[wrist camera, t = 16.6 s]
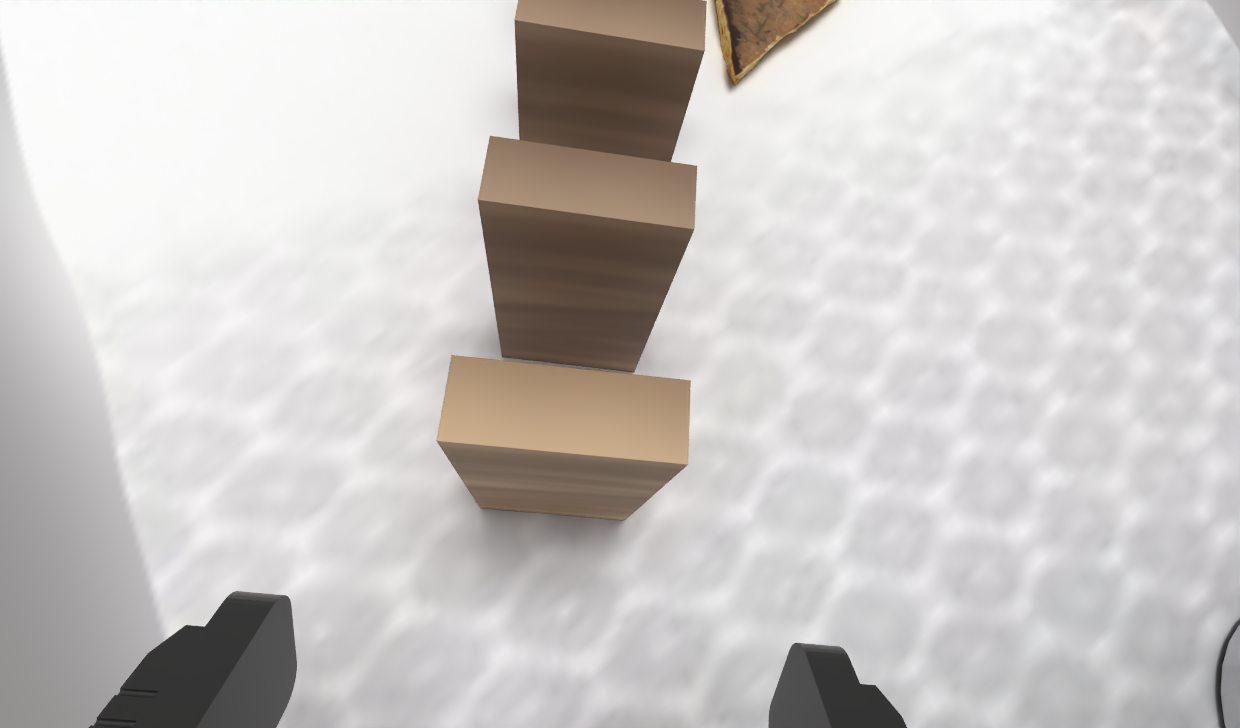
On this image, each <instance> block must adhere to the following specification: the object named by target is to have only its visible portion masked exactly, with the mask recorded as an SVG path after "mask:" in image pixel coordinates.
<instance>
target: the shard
mask: <svg viewBox="0 0 1240 728" xmlns="http://www.w3.org/2000/svg"><path fill="white" fill-rule="evenodd" d="M834 1H836V0H716V9H717V13H718V20H719V32H720V35H721V37H720V41H721V48H722V52H723V56H724V59H725V61H726V64H727V68H728V73H729V75H730V77H731V79H732V81H733V82H734V84H735V85H736V84H737V83H738V82H739V81H740V80H741V79H742V78H743V77H744V76H745V75H746V74H747V73H748V72H750V71H751V70H752V69H753V68H754V67H755V66H756V65H757V64H758V62H759V61H760V60H761V59H762V57H763V56H764V55H766V53H767V52H768V51H769V50H770V49H771V48H772V47H773V46H774V45H776V44H777V43H778V42H780V41H781V40H782V39H783V38H784V37H785V36H787V35H788V34H790V33H794V32H796V31H797V30H798V29H799V28H800V27H801V26H803V25H804V24H805V23H806V22H807V21H808V20H809V19H810V18H811V17H813V16H814V15H816V14H817V13H819V12H820V11H821V10H823V9H824V8H825V7H826V6H827V5H828V4H831V3H833V2H834Z"/></svg>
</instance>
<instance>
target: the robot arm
mask: <svg viewBox="0 0 1240 728" xmlns="http://www.w3.org/2000/svg"><path fill="white" fill-rule="evenodd" d="M296 671H297V660H296V650H295V639H294V629H293V619H292V609H291V602H290V599H289V597H288V596H285V595H274V594H262V593H251V592H240V591H236V592H233V593H232V594H230V595H229V596H228V597H227V598H226V599H225V600H224V602H223V603H222V604H221V606H220V607H219V608H218V610H217V611H216V613H215V614H214V615H213V617H212V618H211V619H210V621H209V622H208V624H207V625H206V626H205V627H202V626H190V625H186V626H184V627H183V628H182V629H180V630H179V631H178V632H176V633H175V634H173V635H172V636H171V637H169V638H168V639H167V640H165V641H164V642H163V643H161V644H160V645H159V646H157V647H156V648H155V649H153V650H152V651H151V652H149V653H148V654H147V655H146V657H145V658H144V659H143V660H142V662H141V663H140V664H139V665H138V667H137V668H136V669H135V670H134V672H133V673H132V674H131V675H130V677H129V678H128V679H127V680H126V682H125V683H124V684H123V686H122V687H121V688H120V689H121V690H120V693H119V694H118V695H115V696H114V697H113V698H112V699H111V701H110V702H109V703H108V705H107V706H106V707H105V708H104V709H103V711H102V712H101V713H100V714H99V716H98V717H97V721H96V723H95V725H94V726H90V727H89V728H276V727H277V725H278V723H279V721H280V719H281V717H282V715H283V713H284V711H285V709H286V707H287V705H288V702H289V700H290V697H291V694H292V690H293V687H294V683H295V678H296ZM1221 699H1222V707H1223V715H1224V723H1225V727H1226V728H1240V624H1239V626H1238V628H1237V629H1236V631H1235V633H1234V634H1233V636H1232V638H1231V639H1230V641H1229V644H1228V647H1227V651H1226V654H1225V658H1224V661H1223V665H1222V681H1221ZM769 728H907V727H906V725H905V722H904V720H903V718H902V716H901V715H900V714H899V713H898V711H897V710H896V709H895V708H894V707H893V706H892V704H891V703H890V702H889V701H888V700H887V698H886V697H885V696H884V695H883V694H882V693H881V691H880V690H879V689H878V688H877V687H876V685H865V684H860V683H859V680H858V678H857V676H856V673H855V671H854V668H853V666H852V664H851V661H850V659H849V657H848V655H847V653H846V652H845V650H844V649H843V648H841V647H838V646H826V645H815V644H804V643H794V644H793V645H792V647H791V648H790V651H789V654H788V656H787V659H786V662H785V665H784V668H783V671H782V673H781V676H780V679H779V682H778V685H777V688H776V691H775V693H774V696H773V699H772V702H771V706H770V711H769Z"/></svg>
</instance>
